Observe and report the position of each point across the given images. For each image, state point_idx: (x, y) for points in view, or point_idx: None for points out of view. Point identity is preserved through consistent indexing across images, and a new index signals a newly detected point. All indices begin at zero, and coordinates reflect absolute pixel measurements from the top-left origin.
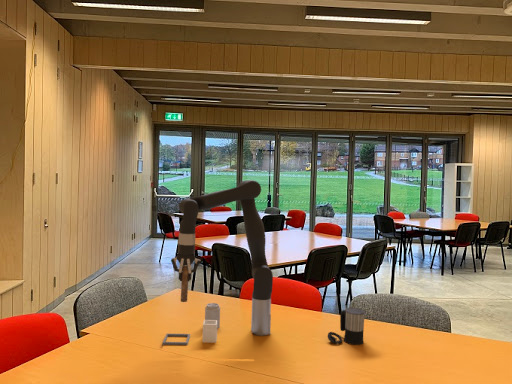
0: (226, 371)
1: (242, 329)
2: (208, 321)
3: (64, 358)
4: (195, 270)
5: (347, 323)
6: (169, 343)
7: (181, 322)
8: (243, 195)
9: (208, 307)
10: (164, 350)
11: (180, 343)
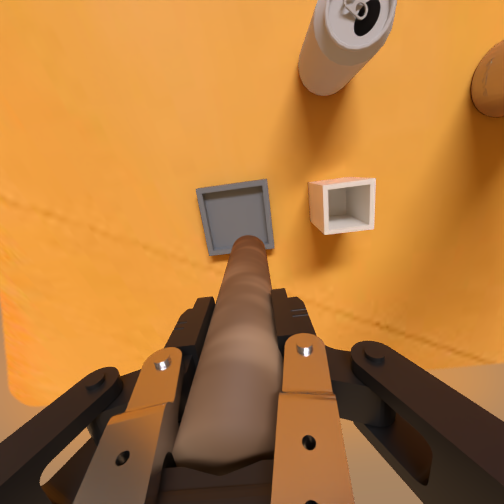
0: None
1: (441, 55)
2: (339, 187)
3: (49, 336)
4: (398, 423)
5: None
6: (227, 252)
7: (196, 16)
8: None
9: (335, 46)
10: None
11: None
